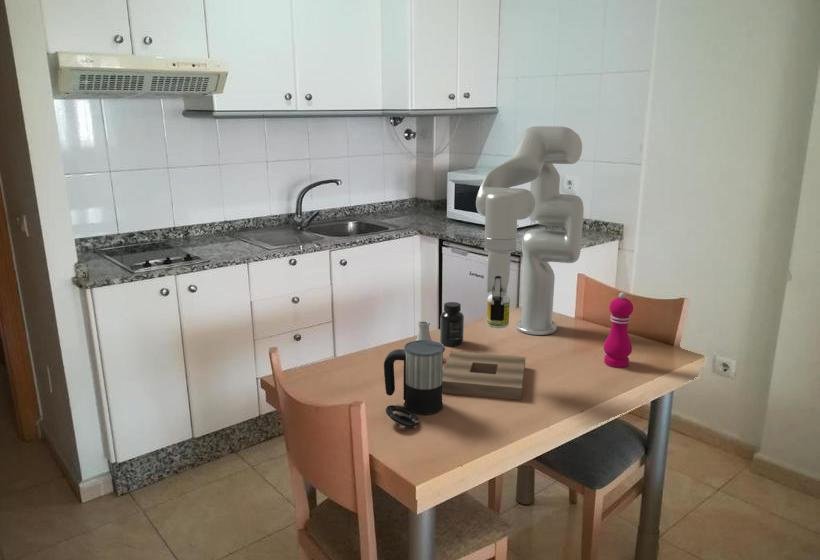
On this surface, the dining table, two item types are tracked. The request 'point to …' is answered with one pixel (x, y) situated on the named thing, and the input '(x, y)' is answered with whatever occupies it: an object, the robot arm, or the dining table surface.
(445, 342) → the supplement bottle
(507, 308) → the supplement bottle
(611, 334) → the pepper mill
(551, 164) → the robot arm
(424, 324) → the flask
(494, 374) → the block
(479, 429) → the dining table surface
